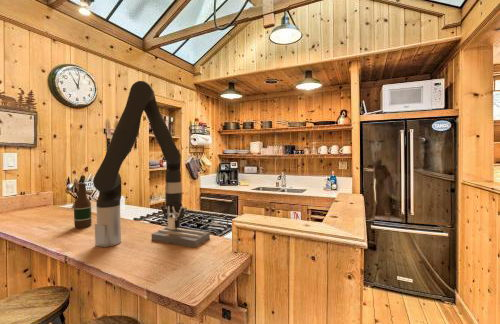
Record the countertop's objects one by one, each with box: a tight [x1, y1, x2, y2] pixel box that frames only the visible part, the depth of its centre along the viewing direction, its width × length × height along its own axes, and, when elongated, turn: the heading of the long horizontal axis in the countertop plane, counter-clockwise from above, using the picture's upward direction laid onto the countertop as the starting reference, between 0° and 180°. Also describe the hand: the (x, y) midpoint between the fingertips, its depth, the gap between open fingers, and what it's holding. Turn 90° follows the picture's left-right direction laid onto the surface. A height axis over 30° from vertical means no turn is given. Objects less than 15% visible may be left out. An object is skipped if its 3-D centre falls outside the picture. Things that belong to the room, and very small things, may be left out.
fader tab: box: [167, 215, 181, 232], centre depth 117 cm, size 5×3×7 cm, turn 159°
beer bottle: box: [73, 182, 92, 230], centre depth 134 cm, size 8×8×24 cm
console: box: [151, 226, 211, 249], centre depth 115 cm, size 12×24×4 cm, turn 69°
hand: (174, 227), depth 117 cm, fingers closed on fader tab, 3 cm apart
